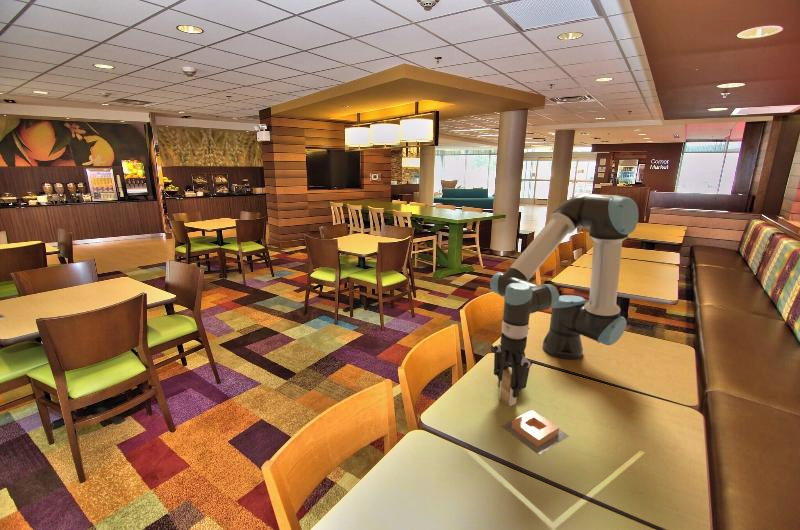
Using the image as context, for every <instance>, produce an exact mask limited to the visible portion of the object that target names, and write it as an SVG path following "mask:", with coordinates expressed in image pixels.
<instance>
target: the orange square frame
mask: <svg viewBox="0 0 800 530" xmlns="http://www.w3.org/2000/svg"><path fill="white" fill-rule="evenodd" d="M529 411H530V410H529ZM529 411H527V412H528V413H527V412H525V413H526V414H525V413H523V414H524V415H523V414H521V415H522V416H521V415H520V416H521V417H519V416H518V417H519V418H517V417H516V418H517V419H515V418H514V419H515V420H514V419H512V420H513V421H512V420H511V421H512V427H511V428H513V429H514V430H516V431H517V432H518V433H520V434H521V435H522V436H524V437H525V438H526V439H528V440H529V441H530V442H532V443H533V444H535V445H536V446H537V447H539V446H540V445H542V444H543V443H545V442H547V441H548V440H550V439H551V438H553V437H555V436H556V435H558V433H559V429H560V426H557V425H556V424H554V423H553V422H552V421H550V420H548V419H547V418H545V417H544V416H543V415H541V414H539V413H538V412H536V411H534V409H533V410H531V411H530V412H529Z"/></svg>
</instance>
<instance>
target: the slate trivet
mask: <svg viewBox="0 0 800 530" xmlns="http://www.w3.org/2000/svg"><path fill="white" fill-rule="evenodd" d="M530 411H532V410H528V411H526V412H525V413H523V414H521V415H519V416H518V417H515V418H513V419H512V420H510V421H507V423H504V424H503V425H501V427H502V428H503V429H505V430H506V431H507V433H510V434H511V435H512V436H514V437H515V439H516V438H517V440H519V441H521V442H522V444H524V445H526V446H527V447H528V448H530V449H531V450H532V451H534V452H535V453H536V454H537V455H539V456H540V455H542V454H543V453H545V452H546V451H548V450H549V449H551V448H553V447H554V446H556V445H557V444H559V443H560V442H562V441H563V440H565V439H566V438H568V437H570V435H569V434H567V433H565V431H563V430H561V429H560V428H559V433H558V435H556V436H555V437H553V438H551V439H550V440H548V441H547V442H545V443H543V444H542V445H540V446H539V447H537V446H536V445H535V444H533V443H532V442H530V441H529V440H528V439H526V438H525V437H524V436H522V435H521V434H520V433H518V432H517V431H516V430H514V429H513V428H511V427H512V421H513V420H515V419H517V418H519V417H521V416H522V415H524V414H526V413H528V412H530Z"/></svg>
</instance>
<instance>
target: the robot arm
mask: <svg viewBox="0 0 800 530" xmlns="http://www.w3.org/2000/svg"><path fill="white" fill-rule="evenodd" d="M639 215H640V214H639V208H638V204H637V203H636V202H635V201H634V199H632V198H630V197H628V196H622V195H615V194H614V195H612V194H597V193H589V192H586V193H580V194H578V195H576V196H575V195H574V196H573V197H571V198H570V199H567V200H566V201H564V202H563V203H561V204H560V205H559V206H558V207H557V208H556V209H555V210H554V211H553V212H552V213H551V214H550V216H549V221H548V223H546V225H545V226H544V227H543V228H542V229H541V230H540V232H539V233H538V234H537V235H536V236H535V238H534V239H533V240H532V241H531V242H530V243H529V244H528V246H527V247H526V248H525V249H524V250H523V251H522V253H520V255H519V256H518V258H516V259H515V261H514V262H513V263H512V264H511V265H510V267H509V268H508V269H507V270H506V271H505V272H501V271H498V272H497V273H495V274H493V276H491V278H490V282H489V285H490V289H491V291H492V292H493V293H494V294H497V295H499V296H500V297H503V301H504V302H503V313H502V314H503V316H502V321H501V322H502V324H501V334H500V343H499V344H496V345H493V346H492V347H493V348H492V349H493V354H494V356H493V357H494V358H493V375H494V376H497V379H498V383H497V385H498V389H499V390H498V400H500V394H501V384H502V374H503V370H504V369H506V368H509V364H511V367H512V384H513V386H512V387H510V395H509V404H508V406H509V407H513V406H514V405H516V404H517V399H518V397H519V396H520V391H522V390H523V389H526V388H527V383H528V378H529V373H530V368H531V367H532V365H533V361H532V360H529V359H528V358H527V357H526V353H525V350H526V347H527V340H528V337H527V336H528V335H529V334H528V333H529V326H530V325H529V323H530V315H531V314H535V313H537V312H541V311H546V310H549V309H550V308H551V314H550V323H549V327H548V328H549V330H548V331H547V333H546V335H545V336H544V339H543V341H542V349H543V351H544V352H546V353H547V354H549V355H550V356H553V357H555V358H560V359H564V360H576V359H579V358H581V357H582V356H583V352H584V348H583V347H584V346H583V344H582V338H581V336H583V337H586V338H588V339H591V340H593V341H595V342H597V343H599V344H603V345H605V346H612V345H614V344H616V343H617V342H618V341H619V340H620V339H621V337H622V336H623V334H624V332H625V331H626V328H627V324H628V323H627V319H626V318H625V317H624V316H622V315H621V308H620V306H619V305H618V304H617V299H618V298H617V297H618V290H619V289H618V288H619V279H620V271H621V268H620V266H621V260H622V259H621V257H622V250H623V248H622V247H623V242H624V241H625V240H626V239H627V238H629V235H630V234H631V233H633V232H634V231H635V230H636V228H637V225H638V223H639V217H640V216H639ZM580 227H581V228H582V227H583V228H588V229H589V233H588V234H589V235H588V236H589V237H590V238H591V240H593V245H592V258H591V259H592V260H591V272H590V273H591V274H590V286H589V298H588V299H589V301H587V300H586V299H585V298H584V297H582V296H581V295H572V294H571V295H569V294H568V295H567V294H566V295H565V294H564V295H560V293H559V291H558V289H557V287H555V285H553V284H551V283H547V284H546V283H542V284H537V283H533V282H531V281H529V280H531V278H532V277H533V275H534V274H536V272H537V271H538V269H540V267H541V266H542V265H543V264H544V263H545V261H546V260H547V259H548V257H550V255H551V254H552V253H553V252H554V250H555V249H556V248H557V247H558V246H559V245H560V243H561V242H562V241H563V240H564V239H565V238H566V236H567V235H568V234H572V233H574V231H576V229H578V228H580ZM502 355H503V356H502ZM521 361H522V364H521ZM521 365H522V367H521V371H520V366H521Z"/></svg>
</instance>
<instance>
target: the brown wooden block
mask: <svg viewBox="0 0 800 530" xmlns="http://www.w3.org/2000/svg"><path fill="white" fill-rule="evenodd" d="M512 386H513V384H512V368H511V367H509V368H506V369H504V370H503V374H502V384H501V394H500V399H499V401H500V402H502V403H503V404H505V405H506V406H509V405H508V404H509V395H510V387H512Z"/></svg>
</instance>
